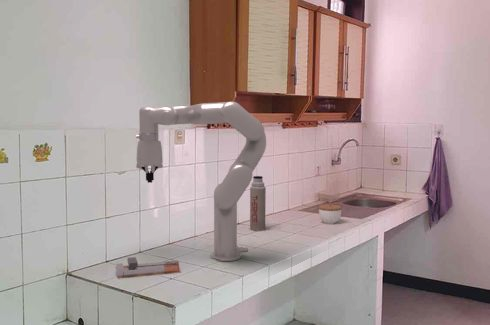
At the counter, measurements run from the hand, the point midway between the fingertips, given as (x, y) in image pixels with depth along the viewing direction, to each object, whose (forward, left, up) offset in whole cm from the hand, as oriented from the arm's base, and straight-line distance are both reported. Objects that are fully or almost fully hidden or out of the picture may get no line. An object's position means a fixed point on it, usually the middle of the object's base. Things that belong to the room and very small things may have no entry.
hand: (149, 182), depth 205 cm
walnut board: (+4, +18, -32) cm, 37 cm away
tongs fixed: (+4, +21, -31) cm, 38 cm away
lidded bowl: (-104, -41, -32) cm, 116 cm away
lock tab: (+9, +21, -28) cm, 36 cm away
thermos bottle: (-60, -37, -32) cm, 78 cm away
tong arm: (+2, +20, -31) cm, 37 cm away
